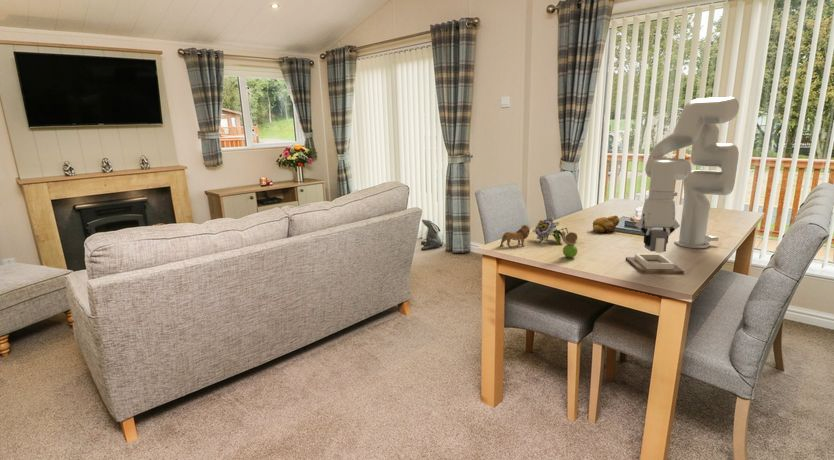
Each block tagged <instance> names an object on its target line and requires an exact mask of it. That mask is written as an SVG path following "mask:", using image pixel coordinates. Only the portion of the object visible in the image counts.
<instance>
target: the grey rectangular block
mask: <svg viewBox="0 0 834 460" xmlns="http://www.w3.org/2000/svg"><path fill="white" fill-rule="evenodd" d="M650 236H651V238H650V246H647V245H645V244H644V248H645V249H647V250H648V251H650V252H655V253H664V252H667V251H666V250H667V244H668V243H667V236H668V232H666V231H664V230H663V228H652V229H651V232H650Z"/></svg>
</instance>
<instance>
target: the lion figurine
mask: <svg viewBox="0 0 834 460" xmlns="http://www.w3.org/2000/svg"><path fill="white" fill-rule="evenodd" d="M530 231H531V229H530V225H528V224H523V225H521V227H520V228H519V229H518V230H517V231H506V232H504V233H503V234H502V236H501V240H500V241H501V242H500V245H499V247H500V248H501V247H504V242H506V245H507V247H508V248H511V249H512V248H513V246H512V245H510V243H511V240H512V241H517V245H518V246H521V247H525V240H526V239H528V237H529V235H530V233H531V232H530Z"/></svg>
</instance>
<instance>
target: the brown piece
mask: <svg viewBox="0 0 834 460" xmlns="http://www.w3.org/2000/svg"><path fill="white" fill-rule="evenodd" d="M625 260H626V262H628V263H629V264H630V265H631V266H632V267H634V268H635V270H637V271H638V272H639V273H640V274H651V275H652V274H657V275H659V274H662V275H663V274H666V275H667V274H668V275H669V274H670V275H675V274H676V275H684V273H685V271H684V270H683V269H682V268H680V267H679V266H678V265H676V264H675V263H674V262H673V261H671V260H670V259H668V258H667V257H665V256H664V255H662V254H661V253H634V256H626V257H625Z"/></svg>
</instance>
